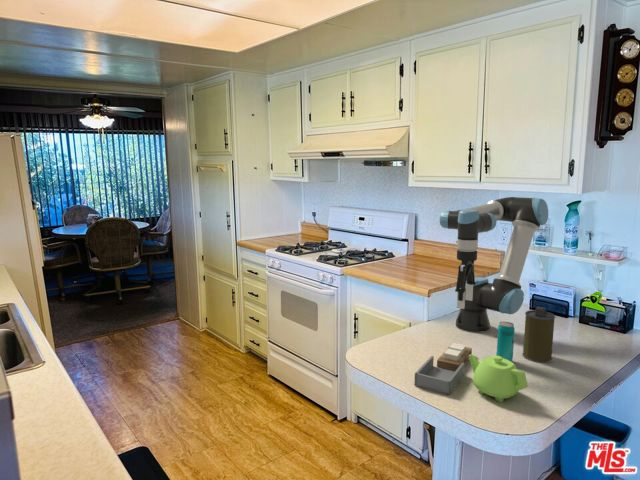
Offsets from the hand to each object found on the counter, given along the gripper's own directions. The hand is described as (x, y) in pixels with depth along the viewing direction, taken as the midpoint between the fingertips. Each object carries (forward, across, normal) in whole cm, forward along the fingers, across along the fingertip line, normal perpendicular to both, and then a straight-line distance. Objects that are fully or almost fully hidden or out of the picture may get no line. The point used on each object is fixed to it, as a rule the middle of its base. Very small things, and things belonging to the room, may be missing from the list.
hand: (464, 304), depth 175 cm
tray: (+20, +29, 0) cm, 35 cm away
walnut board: (+20, +11, 0) cm, 23 cm away
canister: (+20, -10, +26) cm, 35 cm away
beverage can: (+20, +1, +16) cm, 26 cm away
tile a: (+17, +8, 0) cm, 19 cm away
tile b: (+17, +14, 0) cm, 22 cm away
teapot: (+20, +28, +18) cm, 39 cm away
